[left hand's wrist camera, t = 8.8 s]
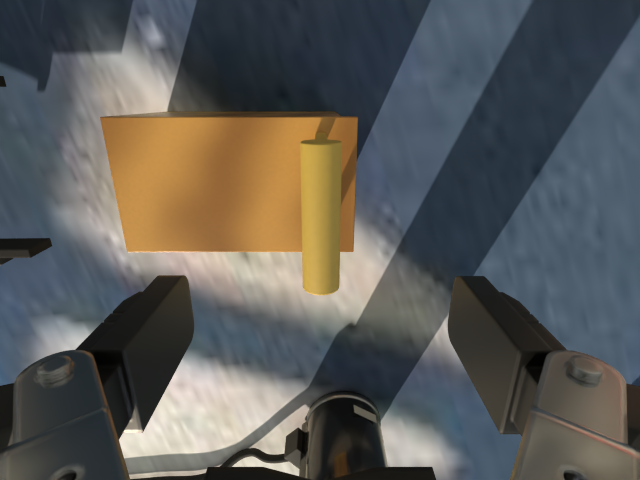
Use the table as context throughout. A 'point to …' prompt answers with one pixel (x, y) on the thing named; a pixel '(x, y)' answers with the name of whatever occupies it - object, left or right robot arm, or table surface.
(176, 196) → the lid
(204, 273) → the table surface
